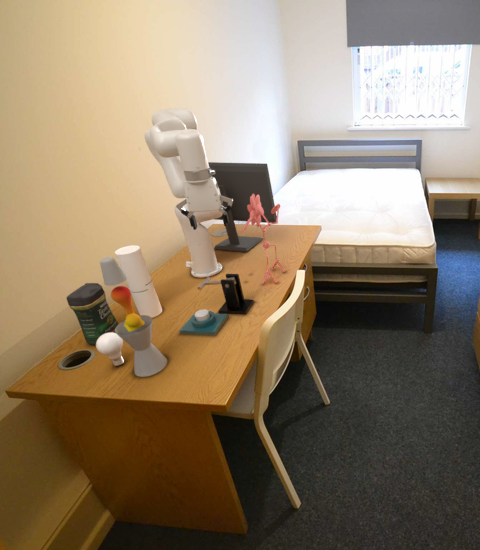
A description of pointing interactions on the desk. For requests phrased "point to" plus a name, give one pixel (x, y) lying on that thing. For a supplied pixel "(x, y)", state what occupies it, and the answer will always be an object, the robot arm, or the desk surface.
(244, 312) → the lever bracket
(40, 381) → the desk surface
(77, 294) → the coffee jar
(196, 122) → the robot arm
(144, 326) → the lava lamp
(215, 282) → the flush lever
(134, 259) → the cylindrical container
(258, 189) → the computer monitor
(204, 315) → the flush button
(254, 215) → the figurine
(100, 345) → the lightbulb
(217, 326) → the plate
